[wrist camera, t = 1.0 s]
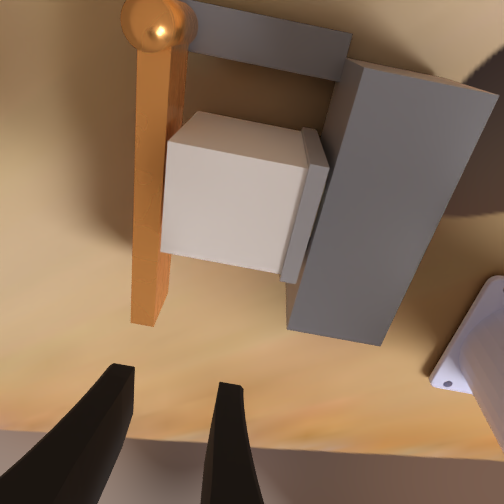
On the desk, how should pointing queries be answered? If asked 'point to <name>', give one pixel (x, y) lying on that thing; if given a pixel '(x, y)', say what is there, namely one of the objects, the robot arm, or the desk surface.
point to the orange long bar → (155, 136)
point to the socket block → (361, 166)
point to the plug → (242, 193)
